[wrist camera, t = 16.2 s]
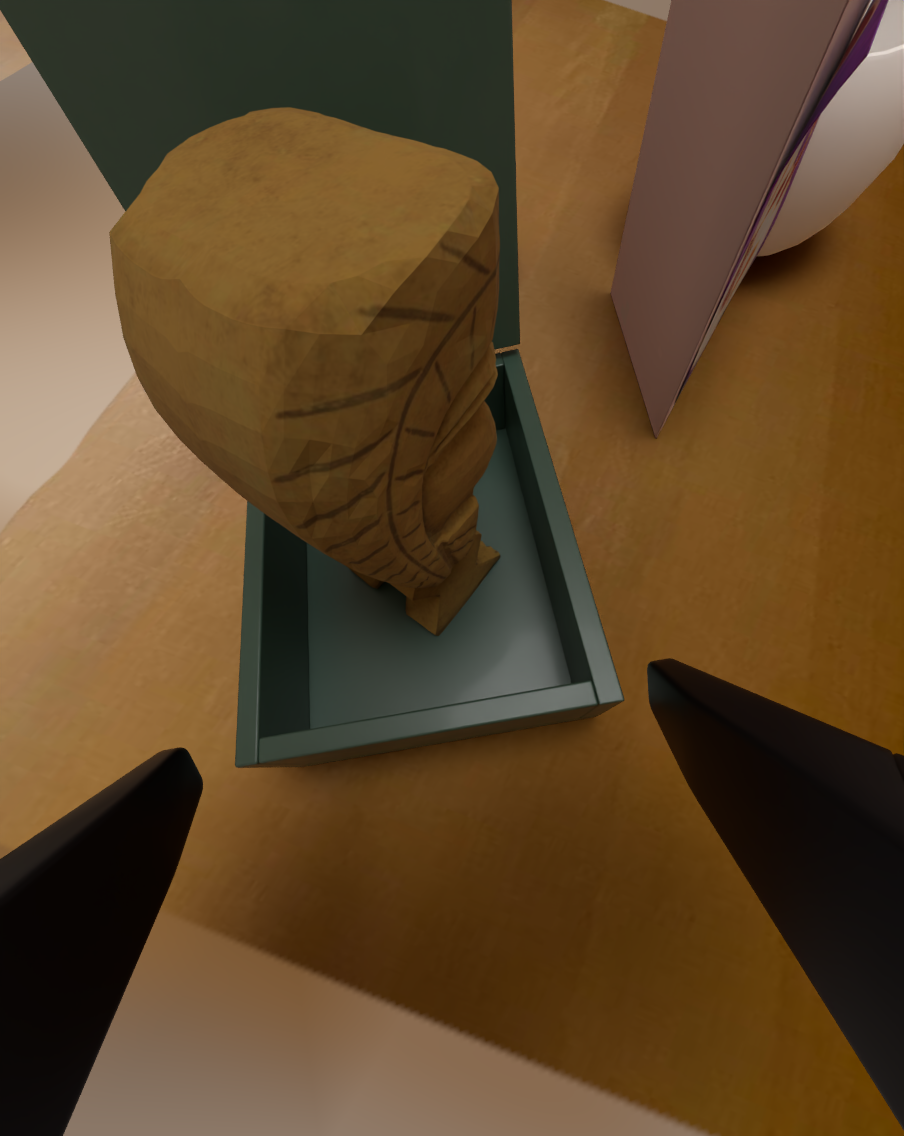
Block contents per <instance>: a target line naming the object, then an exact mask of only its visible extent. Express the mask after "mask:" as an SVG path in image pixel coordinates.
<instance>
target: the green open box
mask: <svg viewBox="0 0 904 1136" xmlns="http://www.w3.org/2000/svg"><path fill="white" fill-rule="evenodd" d="M495 356H496V363H495V364H496V368H497V373H498V376H497V379H496V381H495V384H494V387H493V389H492V390H491V392H490V393H489V395H488V396H487V397H486V399H485V400H484V401H485V402H486V404H487V405H488V406H489V409H490V411H491V414H492V417H493V419H494V422H495V427H496V435H497V442H496V446H495V449H494V452H493V455H492V457H491V459H490V461H489V464H488V467H487V469H486V471H485V472H484V474H483V476H482V477H481V479H480V480H479V481H478V482H477V484H476V485H475V487H474V489H473V495H474V496H475V497H476V499H477V502H478V504H479V510H478V519H477V526H476V530H477V531H479V532H480V533H481V534H482V536H481V541H483V543H484V544H485V545H486V546H491V547H492V548H493V549H494V550H496V551H498V552H499V554H500V558H499V560H498V561H497V562H496V563H495V564H494V565H493V567H492V568H491V569H490V571H489V572H488V574H487V575H486V577H485V578H484V580H483V581H482V582H481V584H480V585H479V586H478V588H477V589H476V590H475V591H474V593H473V594H472V595H471V597H470V598H469V599H468V601H467V602H466V603H465V604H464V606H463V607H462V608H461V610H460V611H459V612H458V613H457V615H456V616H455V617H454V618H453V620H452V621H451V622H450V623H449V625H448V626H447V627H446V628H445V630H444V631H443V632H442V633H441V634H440V635H439V636H436V635H434V634H433V633H432V632H430V631H428V630H427V629H426V628H425V627H424V626H422V625H421V624H420V623H418V622H417V621H415V620H414V619H413V618H411V617H410V616H408V615H407V614H406V596H405V595H404V594H403V593H402V592H400V591H399V590H398V589H396V588H395V587H394V586H392V585H391V584H390V583H387V582H384V583H383V584H382V585H381V586H380V587H379V588H378V589H376V588H372V587H371V586H370V585H368V584H367V583H366V582H365V581H364V580H363V579H361V578H360V577H359V576H357V575H356V574H355V573H354V572H353V571H351V570H350V569H349V568H348V567H347V566H345V565H343V564H341V563H340V562H338V561H336V560H334V559H333V558H331V557H329V556H327V555H326V554H324V553H322V552H321V551H319V550H318V549H316V548H314V547H313V546H311V545H310V544H308V543H307V542H305V541H304V540H302V539H301V538H299V537H298V536H296V535H295V534H293V533H292V532H290V531H289V530H287V529H286V528H285V527H283V526H282V525H280V524H279V523H277V522H276V521H274V520H273V519H271V518H270V517H269V516H267V515H266V514H264V513H263V512H262V511H260V510H259V509H258V508H256V507H255V506H253V505H252V504H251V503H250V502H248V501H247V520H246V542H245V563H244V585H243V606H242V628H241V649H240V671H239V692H238V714H237V735H236V757H235V766H236V767H238V768H255V767H305V766H311V765H317V764H322V763H328V762H334V761H340V760H346V759H352V758H358V757H363V756H369V755H375V754H381V753H387V752H393V751H398V750H404V749H410V748H416V747H422V746H428V745H434V744H439V743H445V742H451V741H457V740H463V739H469V738H474V737H480V736H486V735H492V734H498V733H504V732H510V731H515V730H521V729H527V728H533V727H539V726H545V725H551V724H556V723H562V722H568V721H574V720H580V719H586V718H591V717H596V716H598V715H600V714H602V713H604V712H605V711H607V710H609V709H610V708H612V707H614V706H616V705H617V704H619V703H621V702H623V701H624V696H623V693H622V690H621V687H620V683H619V680H618V677H617V673H616V670H615V667H614V664H613V660H612V657H611V654H610V650H609V647H608V644H607V640H606V637H605V634H604V631H603V627H602V624H601V621H600V617H599V614H598V611H597V607H596V604H595V601H594V598H593V594H592V591H591V588H590V584H589V581H588V578H587V575H586V571H585V568H584V565H583V561H582V558H581V555H580V551H579V548H578V545H577V542H576V538H575V535H574V532H573V528H572V525H571V522H570V518H569V515H568V512H567V509H566V505H565V502H564V499H563V495H562V492H561V489H560V485H559V482H558V479H557V476H556V472H555V469H554V466H553V462H552V459H551V456H550V453H549V449H548V446H547V443H546V439H545V436H544V433H543V429H542V426H541V423H540V420H539V416H538V413H537V410H536V406H535V403H534V400H533V396H532V393H531V390H530V387H529V383H528V380H527V377H526V373H525V370H524V367H523V364H522V360H521V357H520V354H519V350H518V349H515V350H510V351H506V352H502V353H497V354H495Z"/></svg>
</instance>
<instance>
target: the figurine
mask: <svg viewBox="0 0 904 1136" xmlns="http://www.w3.org/2000/svg"><path fill="white" fill-rule="evenodd" d="M110 244H111V254H112V265H113V276H114V286H115V294H116V299H117V305H118V310H119V316H120V321H121V326H122V332H123V337H124V340H125V343H126V346H127V349H128V352H129V354H130V357H131V360H132V363H133V366H134V368H135V371H136V374H137V377H138V379H139V381H140V382H141V384H142V386H143V388H144V390H145V392H146V393H147V395H148V397H149V399H150V401H151V403H152V404H153V406H154V408H155V409H156V411H157V412H158V413H159V414H160V416H161V417H162V418H163V419H164V421H165V422H166V423H167V424H168V426H169V427H170V428H171V429H172V431H173V432H174V433H175V434H176V436H177V437H178V438H179V439H180V440H181V441H182V442H183V443H184V444H185V445H186V446H187V447H188V448H189V449H190V450H191V451H192V452H193V453H194V454H195V455H196V456H197V457H198V458H199V459H200V460H201V461H202V462H203V463H204V464H205V465H206V466H208V467H209V468H210V469H211V470H212V471H213V472H214V473H215V474H216V475H218V476H219V477H220V478H221V479H222V480H223V481H224V482H225V483H227V484H228V485H229V486H230V487H231V488H233V489H234V490H235V491H236V492H237V493H238V494H240V495H241V496H242V497H243V498H245V499H246V500H247V501H248V502H250V503H251V504H252V505H253V506H255V507H256V508H258V509H259V510H260V511H262V512H263V513H264V514H266V515H267V516H269V517H270V518H271V519H273V520H274V521H276V522H277V523H279V524H280V525H282V526H283V527H285V528H286V529H287V530H289V531H290V532H292V533H293V534H295V535H296V536H298V537H299V538H301V539H302V540H304V541H305V542H307V543H308V544H310V545H311V546H313V547H314V548H316V549H318V550H319V551H321V552H322V553H324V554H326V555H327V556H329V557H331V558H333V559H334V560H336V561H338V562H340V563H341V564H343V565H345V566H347V567H348V568H349V569H350V570H351V571H353V572H354V573H355V574H356V575H357V576H359V577H360V578H361V579H363V580H364V581H365V582H366V583H367V584H368V585H370V586H371V587H372V588H376V589H378V588H379V587H380V586H381V585H382V584H383V583H384V582H387V583H390V584H391V585H392V586H394V587H395V588H396V589H398V590H399V591H400V592H402V593H403V594H404V595H405V596H406V614H407V615H408V616H410V617H411V618H413V619H414V620H415V621H417V622H418V623H420V624H421V625H422V626H424V627H425V628H426V629H427V630H428V631H430V632H432V633H433V634H434V635H436V636H439V635H440V634H441V633H442V632H443V631H444V630H445V628H446V627H447V626H448V625H449V623H450V622H451V621H452V620H453V618H454V617H455V616H456V615H457V613H458V612H459V611H460V610H461V608H462V607H463V606H464V604H465V603H466V602H467V601H468V599H469V598H470V597H471V595H472V594H473V593H474V591H475V590H476V589H477V588H478V586H479V585H480V584H481V582H482V581H483V580H484V578H485V577H486V575H487V574H488V572H489V571H490V569H491V568H492V567H493V565H494V564H495V563H496V562H497V561H498V560H499V558H500V554H499V552H498V551H496V550H494V549H493V548H492V547H491V546H486V545H485V544H484V543H483V541H481V536H482V534H481V533H480V532H479V531H477V530H476V526H477V519H478V510H479V504H478V502H477V499H476V497H475V496H474V495H473V489H474V487H475V485H476V484H477V482H478V481H479V480H480V479H481V477H482V476H483V474H484V472H485V471H486V469H487V467H488V464H489V461H490V459H491V457H492V455H493V452H494V449H495V446H496V442H497V435H496V427H495V422H494V419H493V417H492V414H491V411H490V409H489V406H488V405H487V404H486V402H485V401H484V400H485V399H486V397H487V396H488V395H489V393H490V392H491V390H492V389H493V387H494V384H495V381H496V379H497V376H498V373H497V368H496V364H495V363H496V356H495V351H494V346H493V342H492V340H493V334H494V328H495V321H496V315H497V309H498V297H499V255H500V236H499V187H498V185H497V183H496V181H495V179H494V177H493V174H492V172H491V171H489V170H488V169H487V168H486V167H484V166H483V165H482V164H480V163H479V162H478V161H476V160H473V159H471V158H468V157H466V156H463V155H461V154H458V153H455V152H452V151H450V150H447V149H444V148H440V147H434V146H431V145H428V144H425V143H422V142H418V141H414V140H411V139H406V138H402V137H397V136H393V135H389V134H385V133H381V132H376V131H373V130H370V129H367V128H364V127H361V126H357V125H355V124H352V123H349V122H346V121H344V120H340V119H337V118H334V117H329V116H325V115H322V114H320V113H317V112H312V111H307V110H301V109H296V108H291V107H285V108H270V109H264V110H258V111H252V112H249V113H248V114H246V115H245V116H241V117H238V118H234V119H230V120H227V121H225V122H222V123H220V124H217V125H215V126H212V127H210V128H208V129H206V130H204V131H202V132H200V133H198V134H196V135H193V136H191V137H190V138H188V139H187V140H185V141H184V142H183V143H181V144H180V145H179V146H177V147H176V148H174V149H173V150H172V151H170V152H169V153H168V154H167V155H166V156H165V158H164V160H163V161H162V163H161V165H160V166H159V168H158V169H157V170H156V171H155V172H154V173H153V175H152V176H151V177H150V178H149V179H148V180H147V181H146V183H145V185H144V187H143V189H142V191H141V193H140V194H139V195H138V197H137V198H136V199H135V200H134V202H133V203H132V204H131V205H130V207H129V208H128V209H127V211H126V212H125V213H124V214H123V216H122V217H121V218H120V220H119V221H118V222H117V223H116V225H115V226H114V227H113V228H112V230H111V231H110Z"/></svg>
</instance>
